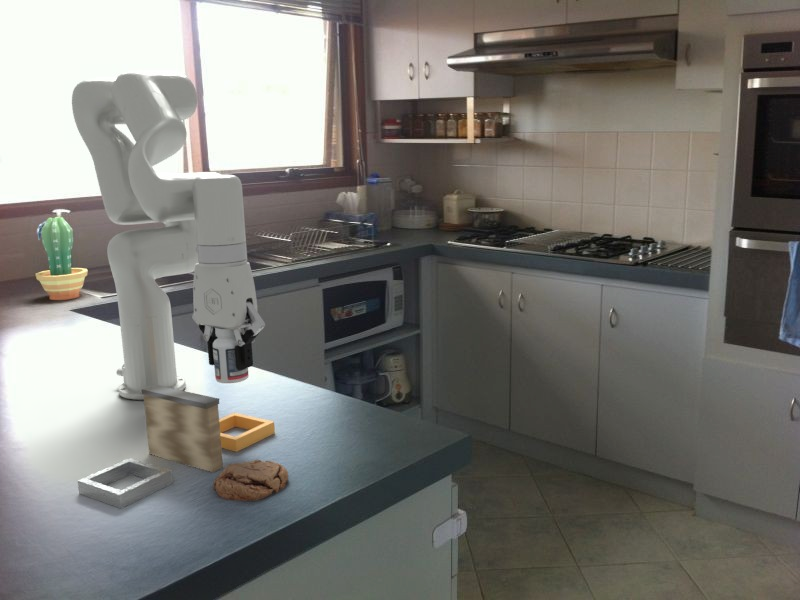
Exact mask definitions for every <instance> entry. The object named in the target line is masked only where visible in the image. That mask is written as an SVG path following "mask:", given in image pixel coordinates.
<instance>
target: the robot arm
mask: <svg viewBox="0 0 800 600" xmlns="http://www.w3.org/2000/svg"><path fill="white" fill-rule="evenodd" d="M197 106H198V94H197V90H196V87H195V85H194V83H193V81H192V80H191V79H190V78H189V77H188V76H187V75H186V74H184V73H183V72H180V71H176V70H175V71H174V70H145V69H144V70H141V69H139V70H130V71H125V72H122V73H121V74H119V75H118V76H117V77H96V78H89V79H86V80H82V81H79V83H77V85H76V86H75V87H74V88H73V90H72V96H71V109H72V114H73V119H74V122H75V125H76V128H77V131H78V133H79V135H80V137H81V138H82V140H83V142H84V145H85V146H86V148H87V149H88V151H89V154H90V155H91V159H92V161H93V164H94V170H95V174H96V178H97V183H98V186H99V190H100V191H99V192H100V194H101V199H102V203H103V206H104V210H105V213H106V215H107V217H108V219H109V220H110V221H111V222H112V223H114V224H116V225H121V226H122V225H124V226H125V225H127V226H129V225H141V224H142V225H143V224H144V225H145V224H151V223H152V224H153V223H163V224H164V226H161V227H148V228H139V229H130V230H126V231H122V232H119V233H118V234H115V235H114V236H113V237H112V238H111V239H110V240H109V241H108V244H107V249H106V252H107V253H106V254H107V259H108V260H107V261H108V263H109V267H110V270H111V273H112V277H113V281H114V285H115V291H116V296H117V297H116V299H117V305H118V314H119V316H118V317H119V323H120V335H121V344H122V345H121V346H122V353H123V361H124V363H123V364H122V366H121V368H118V369H117V370H116V375H117V376H120V377H123V383H122V384H120V385H119V386H118V395H119V396H120V397H122V398H124V399H128V400H134V401H135V400H138V401H141V400H142V401H144V395H143V394H142V391H141V389H143V388H146V387H149V386H152V385H159V386H164V387H168V388H173V389H177V390H182V391H184V390H185V388H186V386H187V384H186V379H185V378H184V377H183V376H179V375H177V374H178V373H177V364H176V354H175V353H176V351H175V342H174V341H175V339H174V329H173V318H172V308H171V307H172V306H171V301H170V298H169V296H168V295H167V293H166V291H165V290H163V288H161V286H160V285H158V283H157V282H156V279H160V278H163V277H171V276H178V275H184V274H190V273H193V281H192V282H193V285H192V292H193V293H192V294H193V295H192V297H193V303H192V304H193V313H192V316H191V318H192V320H193V321H194V322H195V324H196V325H197V326H198V328H199V330H200V331H201V333H202V334H203V339H204V340H205V342H206V343H207V344H206V345H207V354H208V356H207V357H208V364H209V365H210V366H214V356H213V342H214V341H215V340H216V339H218V337H217V336H216V334H215V327H219V328H226V329H233V331H234V334H235V337H236V340H237V343H238V345H237V346H235V357H236V368H237V370H243V369H246V368H248V369H249V368H250V367H253V365H254V361H253V358H254V357H253V348H252V347H253V344H252V343H255V341H256V337H258V335H259V333H260V332H261V331H263V329H264V328H265V327H266V323H265V321H264V319H263V318H262V317H261V315H260V314H259V312H258V301H257V294H256V285H255V281H254V275H253V272H252V268H251V264H250V262H249V261H248V250H247V239H246V237H247V236H246V223H245V222H246V221H245V211H244V210H245V209H244V208H245V207H244V199H243V198H244V196H243V185H242V181H241V179H240V178H239V176H237V175H233V174H221V173H219V172H215V171H214V172H213V171H201V172H180V173H179V172H178V173H172V172H156V171H155V170H154V168H153V166H155V165H157V164H159V163H161V162H164V161H165V160H167V159H169V158H170V157H171V158H172V156H174V155H175V154H177V153H178V152H179V151H180V150H181V149H182V148H183V146H184V145H185V142H186V139H187V135H188V134H187V129H186V127H185V124H184V122H183V121H184V120H188V119H189V118H191V117H192V116H193V115H194V114H195V112H196V110H197ZM115 125H126V126H127V129H128V130H129V132H130V134H131V135H132V137H133V139H134V141H135V144H134V143H133V141H132V140H131V139H130V138H129V137H128V136H126V134H125V133H123V132H122V131H121V130H119V129H118V128H117V127H116V126H115ZM242 330H243V331H244V334H243V331H242Z"/></svg>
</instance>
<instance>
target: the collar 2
mask: <svg viewBox="0 0 800 600" xmlns="http://www.w3.org/2000/svg"><path fill="white" fill-rule="evenodd" d="M219 424H220V437H221V449H225V450H229V451H233V452H239V451H241V450H243V449H245V448H247V447H249V446H251V445H253V444H255V443H257V442H259V441H262V440H263V439H266V438H268V437H269V436H272V435H275V434H276V431H275V430H276V429H275V421H273V420H269V419H264V418H260V417H255V416H251V415H246V414H243V413H238V412H233V413H230V414H227V415H226V416H223V417H221V418H219ZM235 427H236V428H239V429H240V428H241V429H245V430H246V431H244V432H242V433H240V434H238V435H236V436H234V435H231V434H227V433H224V432H226V431H229V430H231V429H234V428H235Z"/></svg>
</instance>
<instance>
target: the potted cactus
mask: <svg viewBox="0 0 800 600" xmlns="http://www.w3.org/2000/svg"><path fill="white" fill-rule="evenodd" d="M36 234H37V239H38V241H41V240H42V245H43V249H45V252H46V254H47V261H48V266H49V267H48V268H49V270H42V271H39V272H37V273H36V272H35V278H36V281H39V282H40V285H41V286H42V289H43V290H44V292H46V294H47V295H49V300H51V301H52V300H53V301H65V300H71V299H76V298H79V297H80V291H81V290H82V288H83V286H84V283H85V278H86V277H87V276H88V269H87V268H82V267H72V248H73V244H74V233H73V228H72V227H71V226H70V224H69V223H68V222H67V221H66V220H65V218H64V217H63V216H61V217H59V216H55V217H48V218H47V219H46V220H45V221H43V222H42V223H40V224H39V225H38V226H37V229H36Z"/></svg>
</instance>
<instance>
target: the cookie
mask: <svg viewBox="0 0 800 600" xmlns="http://www.w3.org/2000/svg"><path fill="white" fill-rule="evenodd" d="M287 482H289V472H288V470H287V468H286V467H284V466H283V465H282V464H280V463H278V462H275V461H271V460H265V461H262V460H261V459H254V460H250V461H245V462H236V463H235V462H234V463H230V464H228V465H226V466H225V468H224V469H223V471H221V472H220V474H219V475H218V476H217V478H215V480H214V481H213V484H212V487H213V490H215V491H216V493H217V496H219V497H220V498H221V497H222V499H224V500H230V501H237V502H238V501H241V502H245V501H246V502H247V501H248V502H253V501H254V502H255V501H261V500H263V499H266V498H267V497H268V496H270V495H272V494H274V493H278V492H279V491H282V490H283V489H285V487H286V484H287Z"/></svg>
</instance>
